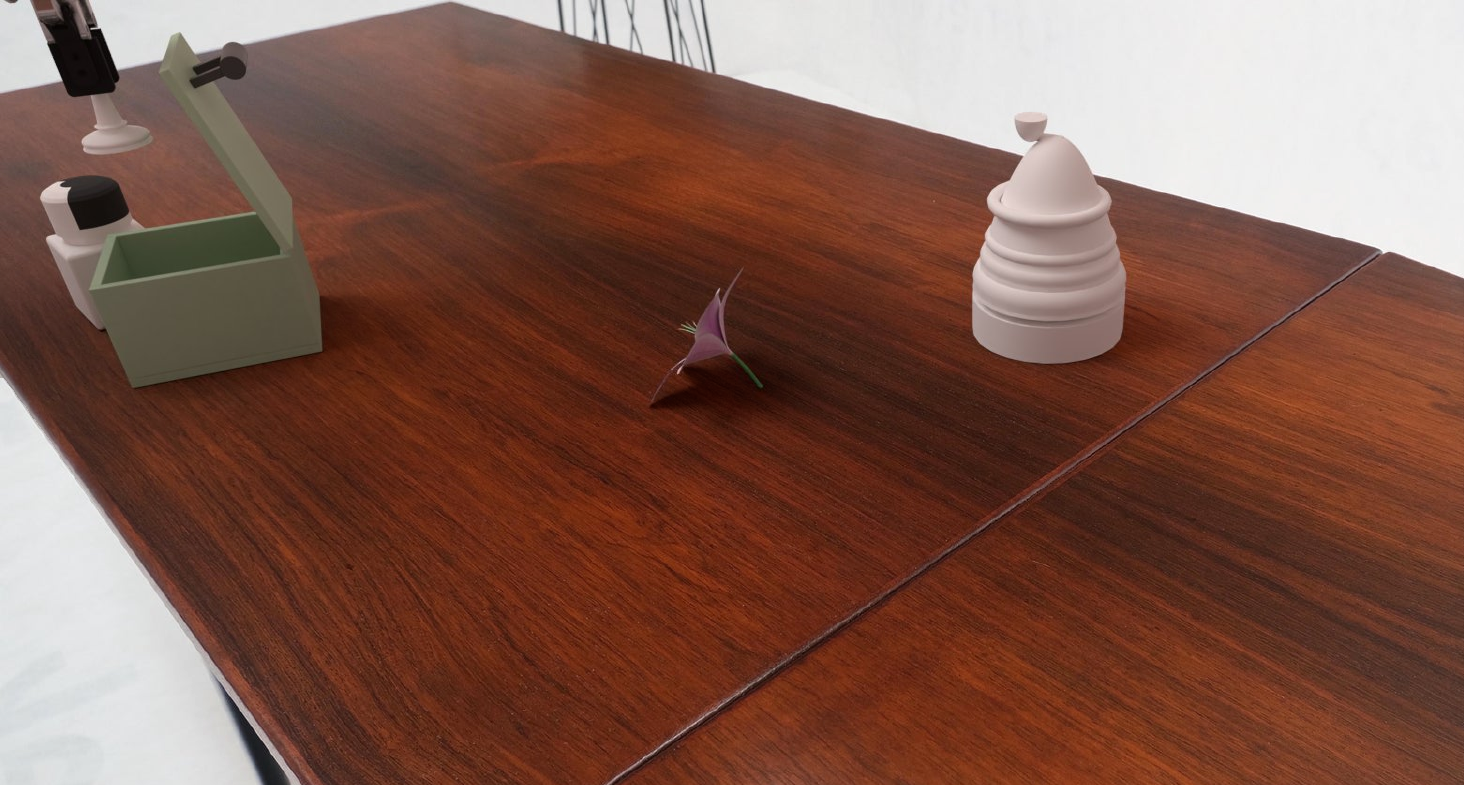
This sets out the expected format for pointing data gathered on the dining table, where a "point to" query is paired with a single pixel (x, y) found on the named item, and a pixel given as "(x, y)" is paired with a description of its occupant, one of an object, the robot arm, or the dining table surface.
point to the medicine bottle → (84, 231)
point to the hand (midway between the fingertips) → (95, 87)
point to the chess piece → (113, 131)
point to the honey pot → (1048, 258)
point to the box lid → (228, 129)
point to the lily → (710, 337)
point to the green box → (205, 298)
